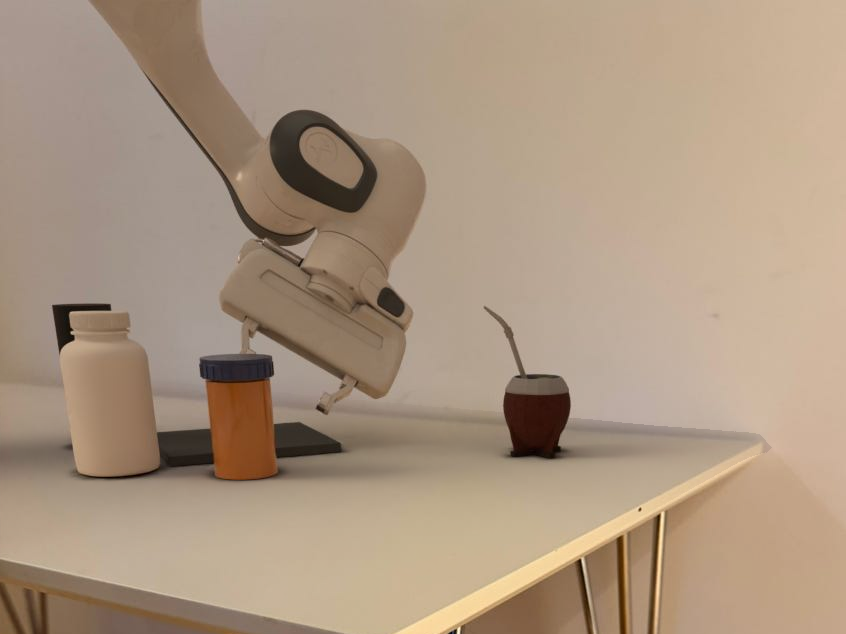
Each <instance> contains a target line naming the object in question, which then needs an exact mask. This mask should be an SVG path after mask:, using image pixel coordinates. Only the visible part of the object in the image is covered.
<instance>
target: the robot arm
mask: <svg viewBox="0 0 846 634" xmlns="http://www.w3.org/2000/svg"><path fill="white" fill-rule="evenodd" d="M88 2H89V3H90V4H91V6H93V8H94V9H95V10H96V11H97V12H98V14H99V16H101V17H102V19H103V20H104V21H105V22H106V24H107V25H108V26H109V27H110V29H111V30H112V31H113V33H115V35H116V36H117V38H119V40H120V42H121V43H122V44H123V45H124V47H125V48H126V50H127V51H128V52H129V54H130V56H131V57H132V58H133V60H134V61H135V62H136V64H137V66H138V67H139V68H140V70H141V71H142V73H143V74H144V76H145V77H146V79H147V80H148V82H149V83H150V85H151V86H152V88H153V89H154V90H155V92H156V93H157V95H158V96H159V97H160V98H161V100H162V101H163V102H164V104H165V106H167V108H168V110H170V112H171V113H172V114H173V116H174V117H175V118H176V120H177V121H178V122H179V124H180V125H181V126H182V127H183V129H184V130H185V131H186V132H187V134H188V135H189V136H190V138H191V139H192V140H193V141H194V143H195V144H196V145H197V147H198V148H199V149H200V151H201V152H202V153H203V155H204V156H205V157H206V158H207V160H208V161H209V162H210V163H211V165H212V166H213V168H214V169H215V170H216V171H217V173H218V175H219V176H220V178H221V179H222V181H223V183H224V185H225V186H226V188H227V191H228V193H229V196H230V198H231V201H232V203H233V206H234V209H235V211H236V213H237V215H238V216H239V219H240V220H241V222H242V223H243V224H244V226H245V228H247V230H248V231H249V232H250V233H252V234H253V235H254V236H255V237H253V238H249V239H248V240H246V242H244V244H243V246H242V248H241V249H240V251H239V253H238V256H237V263H238V264H237V265H236V267H235V268H234V269H233V270H232V271H231V273H230V274H229V276H228V277H227V278H226V280H225V282H224V284H223V285H222V286H221V289H220V291H219V296H218V301H219V305H220V309H221V310H222V312H223V313H224V314H226V315H228V316H230V317H232V318H234V320H237V321H239V322H240V323H242V325H241V329H240V341H241V342H240V344H241V350H240V351H239V353H238V354H257V352H256V351H254V350H253V349H252V348H250V347H251V345H250V339H254V337H256V334H257V333H258V334H260V335H263V336H264V337H266V338H268V339H270V340H271V341H273V342H275V343H276V344H278V345H280V346H282V347H284V348H285V349H287V350H289V351H290V352H292V353H294V354H295V355H297V356H299V357H301V358H302V359H304V360H306V361H307V362H309V363H311V364H313V365H314V366H316V367H318V368H320V369H321V370H323V371H325V372H327V373H329V374H330V375H332V376H333V377H335V378H337V379H339V380H340V381H341V382H340V385H338V390H337V391H335V392H333V393H332V394H330V393H328V392H327V391H323V393H322V395H321V397H320V399H319V401H318V402H317V405H316V407H315V410H316V411H318V412H320V413H322V414H323V415H325V416H328V415H329V413H330V411H331V409H332V407H333V405H334V404H337V403H338V402H340V401H342V400H343V399H345V398H347V397H348V396H351V394H352V391H353V390H354V388H355V390H358V391H359V392H361V393H363V394H364V395H367V396H368V397H370V398H372V399H373V400H380V399H381V398H384V397H386V396H387V395H388V393H389V391H391V388H392V386H393V384H394V382H395V380H396V378H397V376H398V374H399V370H400V368H401V365H402V362H403V360H404V359H403V358H404V356H405V353H406V348H407V336H406V333H407V331H408V329H409V328H410V325H411V323H412V321H413V317H414V310H413V308H412V307H411V306H410V304H409V303H408V302H406V300H405V299H404V298H403V297H402V296H401V295H400V294H399V293H398V291H396V290H395V288H394V286H392V285H391V284H390V282H389V281H388V280H389V278H390V274H391V270H392V269H391V268H392V265H393V262H394V261H395V260H396V258H397V257H398V256H399V255H400V254H401V253H402V252H403V251H404V250H405V247H406V246H407V244H408V242H409V240H410V238H411V236H412V234H413V232H414V229H415V228H416V225H417V224H418V220H419V218H420V216H421V213H422V210H423V208H424V205H425V201H426V196H427V179H426V175H425V172H424V169H423V166H421V164H420V162H419V161H418V160H417V158H416V156H415V155H413V153H412V152H411V151H410V150H408V148H406V147H405V146H404V145H403V144H402V143H400V142H397V141H396V140H393V139H390V138H370V137H365V136H363V135H359V134H356V133H354V132H351V131H350V130H347V129H345V128H343V127H341V126H340V125H339V124H338V123H337V122H336V121H335V120H334V119H332V118H331V117H329V116H327V115H326V114H323V113H322V112H320V111H315V110H312V109H296V110H293V111H290V112H288V113H286V114H285V115H283V116H281V118H279V119H278V121H277V122H276V123H275V124H274V126H273V127H272V128H271V129H270V131H269V132H268V133H267V135H266V136H265V138H264V137H263V136H262V135H261V134H260V133H259V132H258V130H257V128H256V127H255V126H254V125H253V123H252V122H251V120H250V119H249V118H248V116H247V115H246V114H245V112H244V111H243V109H242V108H241V107H240V105H239V104H238V103H237V101H236V100H235V98H234V97H233V96H232V94H231V93H230V92H229V91H228V89H227V88H226V86H225V85H224V83H223V82H222V80H221V79H220V78H219V76H218V74H217V72H216V70H215V69H214V67H213V64H212V63H211V60H210V57H209V54H208V50H207V47H206V42H205V36H204V26H203V16H202V0H88ZM315 232H316V233H317V234H316V235H315V238H314V240H313V241H312V243H311V245H310V247H309V248H308V251H307V252H306V254H305V256H304V257H301V256H299V255H298V254H296V253H294V252H293V251H291V250H289V249H287V248H284V247H292V246H296V245H297V246H298V245H300V244H302V243H304V242H306V241H307V240H308V239H309V238H311V237H312V236H313V234H314V233H315Z"/></svg>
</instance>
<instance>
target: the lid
mask: <svg viewBox="0 0 846 634" xmlns="http://www.w3.org/2000/svg"><path fill="white" fill-rule="evenodd" d="M198 367H199V376H200V378H201V379H203V380H217V381H243V380H257V379H265V378H270V379H271V378H273V377H274V376H275V365H274V360H273V355H271V354H263V353H256V354H239V353H224V354H223V353H222V354H211V355H203V356H200V357H199V363H198Z"/></svg>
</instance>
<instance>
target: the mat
mask: <svg viewBox="0 0 846 634" xmlns="http://www.w3.org/2000/svg"><path fill="white" fill-rule="evenodd" d="M274 431H275V444H276V456H277V458H284V457H296V456H297V457H299V456H307V455H321V454H330V453H341V452H342V444H341V442H340V441H339V440H336V439H334V438H332V437H330V436H328V435H327V434H325V433H322V432H321V431H318V430H316V429H314V428H312V427H310V426H308V425H306V424H305V423H302V422H301V421H295V422H293V421H292V422H282V423H281V422H280V423H274ZM157 438H158V446H159V454H160V457H161V458H163V459H164V461H165V462H166V463H167V464H168V465H169V466H170V467H179V466H180V467H181V466H190V465H191V466H192V465H204V464H214V461H213V451H212V442H211V432H210V427H209V428H198V429H185V430H182V429H181V430H170V431H169V430H168V431H157Z"/></svg>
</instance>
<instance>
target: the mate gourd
mask: <svg viewBox="0 0 846 634" xmlns="http://www.w3.org/2000/svg"><path fill="white" fill-rule="evenodd" d="M483 309H484V310H485V312H487V313H488V314H489V315H490V316H491V317H493V319H495V321H497V323H498V324H500V326H501V327H502V329H503V333H504V334H505V337H506V339H508V343H509V346H510V348H511V352H512V355H513V357H514V361H515V363H516V366H517V369H518V372H519V374H517V375H514V376H512V377H511V379H510V380H509V381H508V383H507V384H506V387H505V389H504V396H503V402H502V409H503V416H504V420H505V423H506V426H507V428H508V432H509V436H510V441H511V445H512V450H511V451H509V453H510V457H515V458H517V457H524V456H532V455H536V456H540V457H542V458H543V457H544V458H547V459H553V458H555V459H556V454H557V452H561V450H562V446H561V445H559V443H560V439H561V436H562V433H563V432H564V430H565V428H566V425H567V424H568V421H569V418H570V414H571V407H572V404H571V402H572V401H571V394H570V389H569V386H568V384H567V382H566V381H565V379H564V378H563V376H561V375H558V374H557V375H556V374H547V373H527V374H526V371H525V367H524V365H523V362H522V360H521V356H520V353H519V350H518V347H517V344H516V341H515V338H514V336H515V334H514V331H513V330H512V328H511V327H512V326H510V325H508V323H507V321H505V319H503V317H502V316H500V315H499V314H498V313H496V312H495V311H493V310H492V309H490V308H489V307H487V306H486V305H483Z"/></svg>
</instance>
